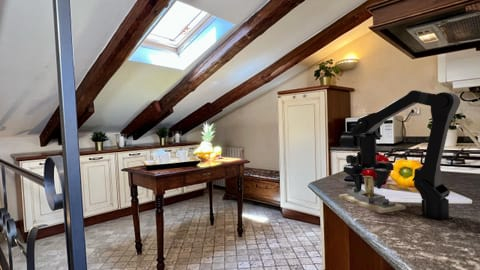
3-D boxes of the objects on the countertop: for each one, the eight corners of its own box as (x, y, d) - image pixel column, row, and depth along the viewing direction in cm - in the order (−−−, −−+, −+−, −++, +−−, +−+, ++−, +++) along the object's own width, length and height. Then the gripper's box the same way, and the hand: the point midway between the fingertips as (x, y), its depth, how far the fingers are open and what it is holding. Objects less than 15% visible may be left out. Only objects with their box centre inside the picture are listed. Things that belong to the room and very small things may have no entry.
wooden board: (405, 209, 94) (405, 206, 94) (380, 213, 91) (380, 210, 91) (360, 194, 115) (360, 191, 115) (338, 197, 112) (338, 194, 112)
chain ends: (398, 205, 95) (398, 196, 95) (381, 208, 93) (380, 199, 93) (359, 193, 113) (359, 185, 113) (344, 195, 111) (344, 187, 111)
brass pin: (369, 198, 105) (369, 175, 105) (376, 200, 102) (375, 177, 102) (363, 199, 104) (362, 176, 104) (369, 201, 101) (368, 177, 101)
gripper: (372, 146, 113) (372, 183, 113) (333, 149, 107) (335, 188, 108) (394, 148, 102) (395, 189, 103) (353, 151, 97) (354, 194, 97)
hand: (369, 190), depth 103 cm, fingers open, 9 cm apart
